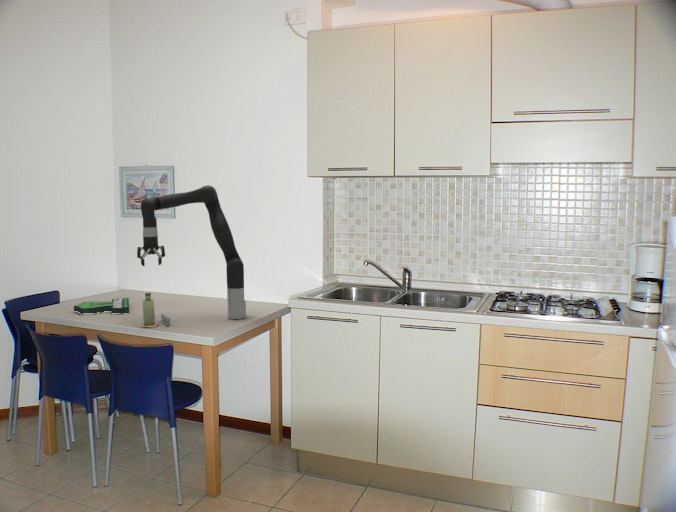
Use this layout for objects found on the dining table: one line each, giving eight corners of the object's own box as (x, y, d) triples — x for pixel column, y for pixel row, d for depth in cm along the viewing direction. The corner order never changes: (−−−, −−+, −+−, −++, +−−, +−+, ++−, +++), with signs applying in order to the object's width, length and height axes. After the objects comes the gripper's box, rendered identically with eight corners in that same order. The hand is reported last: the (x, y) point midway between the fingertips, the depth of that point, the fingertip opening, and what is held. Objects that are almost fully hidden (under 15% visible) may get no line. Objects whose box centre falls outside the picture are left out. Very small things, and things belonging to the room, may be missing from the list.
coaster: (155, 323, 302) (155, 322, 302) (160, 326, 295) (160, 325, 294) (138, 325, 297) (138, 324, 297) (142, 328, 290) (142, 327, 290)
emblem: (129, 307, 324) (71, 311, 313) (129, 314, 324) (71, 318, 314) (128, 297, 352) (75, 301, 341) (128, 304, 352) (76, 307, 342)
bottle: (153, 323, 300) (152, 291, 298) (156, 325, 295) (154, 293, 293) (142, 324, 297) (141, 292, 295) (145, 326, 292) (143, 294, 290)
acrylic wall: (163, 321, 307) (162, 313, 306) (170, 326, 295) (170, 319, 294) (161, 321, 306) (161, 314, 306) (168, 326, 294) (168, 319, 294)
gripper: (138, 236, 297) (139, 267, 299) (165, 235, 305) (166, 265, 307) (135, 235, 303) (136, 265, 305) (161, 234, 311) (163, 263, 313)
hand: (151, 265), depth 306 cm, fingers open, 8 cm apart
